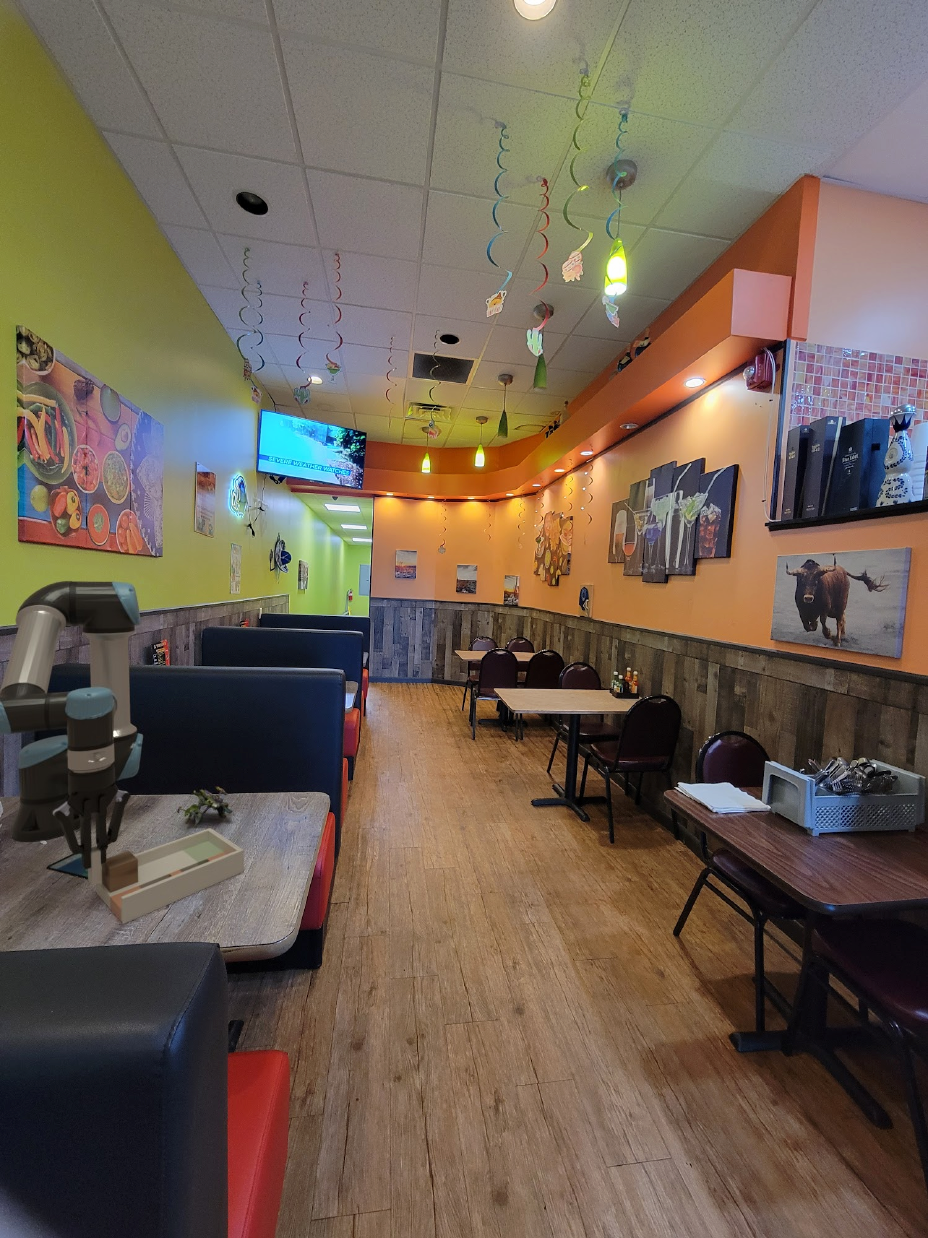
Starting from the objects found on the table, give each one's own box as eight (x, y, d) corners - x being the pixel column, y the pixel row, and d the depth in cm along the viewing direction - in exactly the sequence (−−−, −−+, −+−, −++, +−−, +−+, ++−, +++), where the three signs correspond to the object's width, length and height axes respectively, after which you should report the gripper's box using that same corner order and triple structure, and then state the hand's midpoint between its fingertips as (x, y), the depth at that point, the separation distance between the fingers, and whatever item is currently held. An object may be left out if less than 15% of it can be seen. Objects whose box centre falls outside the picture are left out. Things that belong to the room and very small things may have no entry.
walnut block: (102, 883, 107) (101, 860, 107) (129, 873, 111) (128, 850, 111) (110, 893, 104) (109, 869, 104) (138, 882, 108) (137, 859, 108)
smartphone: (76, 851, 123) (123, 862, 119) (76, 854, 123) (123, 865, 119) (44, 867, 117) (93, 879, 112) (44, 870, 117) (93, 882, 112)
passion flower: (220, 836, 144) (244, 805, 142) (186, 847, 134) (210, 813, 132) (201, 806, 148) (223, 775, 146) (166, 814, 138) (189, 781, 136)
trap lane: (95, 891, 108) (94, 868, 108) (210, 847, 127) (210, 828, 127) (123, 924, 98) (122, 899, 98) (243, 871, 117) (243, 850, 117)
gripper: (56, 780, 95) (59, 903, 96) (135, 762, 105) (138, 874, 107) (45, 770, 100) (49, 888, 101) (122, 754, 110) (124, 861, 111)
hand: (94, 881), depth 104 cm, fingers closed
